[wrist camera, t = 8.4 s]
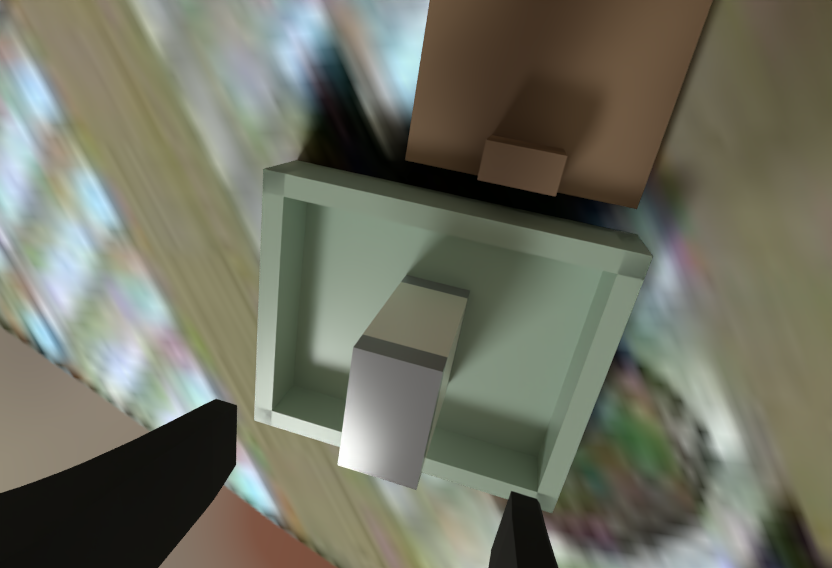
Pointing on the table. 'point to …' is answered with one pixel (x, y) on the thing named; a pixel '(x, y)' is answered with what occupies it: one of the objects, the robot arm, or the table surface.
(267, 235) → the parts tray
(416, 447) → the block
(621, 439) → the table surface
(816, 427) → the table surface
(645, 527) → the table surface
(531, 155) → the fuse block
